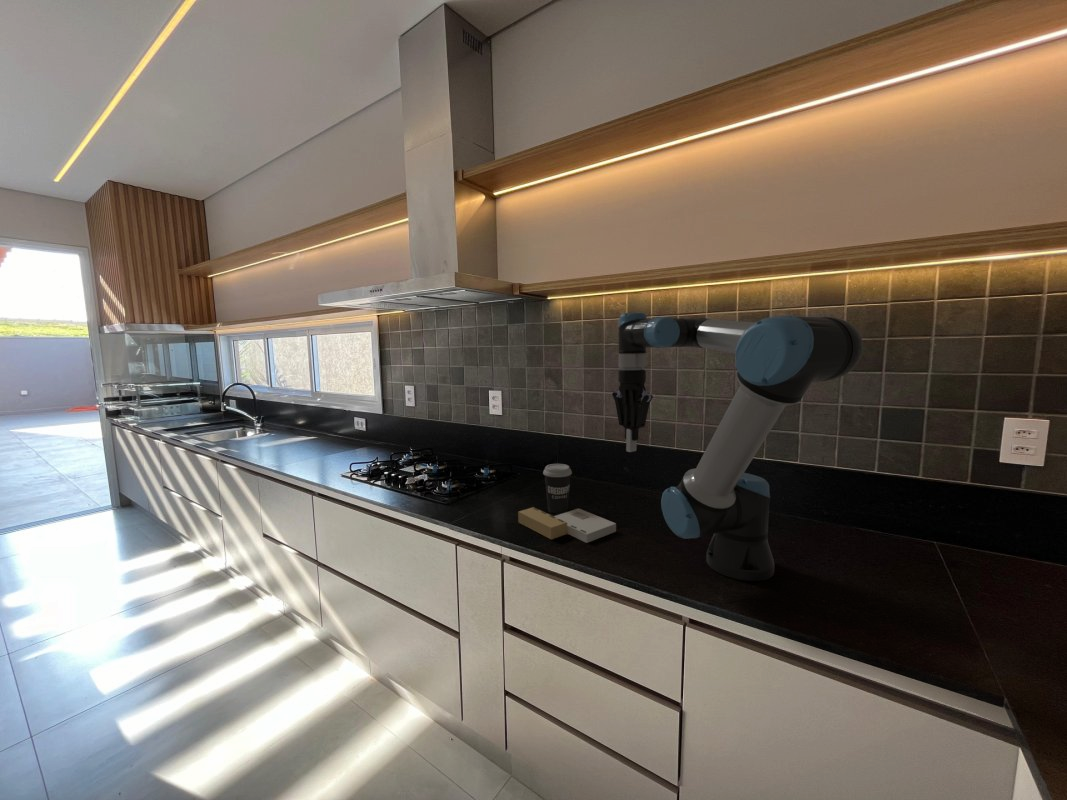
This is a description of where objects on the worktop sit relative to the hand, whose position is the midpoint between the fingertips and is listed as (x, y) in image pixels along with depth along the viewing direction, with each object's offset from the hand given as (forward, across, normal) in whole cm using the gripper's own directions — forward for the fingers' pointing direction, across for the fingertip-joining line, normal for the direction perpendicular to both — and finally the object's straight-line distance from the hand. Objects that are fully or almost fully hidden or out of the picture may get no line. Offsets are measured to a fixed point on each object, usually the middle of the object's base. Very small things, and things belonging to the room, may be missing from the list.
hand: (631, 450), depth 125 cm
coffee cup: (+25, +27, +5) cm, 37 cm away
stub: (+24, +19, +18) cm, 36 cm away
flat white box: (+24, +11, +9) cm, 28 cm away
